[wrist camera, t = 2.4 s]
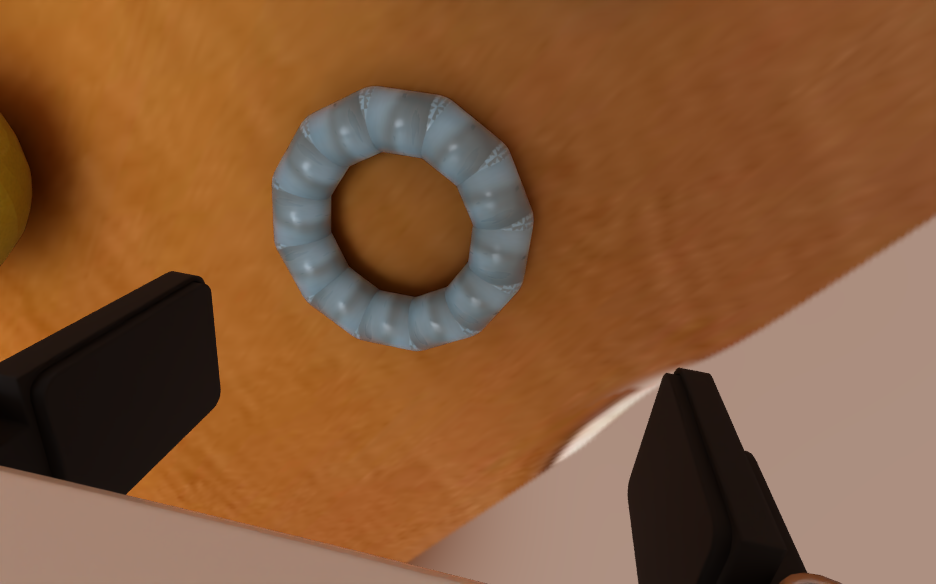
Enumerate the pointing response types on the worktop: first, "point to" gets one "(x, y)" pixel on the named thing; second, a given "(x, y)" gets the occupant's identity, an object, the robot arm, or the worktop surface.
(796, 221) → the worktop surface
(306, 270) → the ring
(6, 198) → the lemon
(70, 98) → the worktop surface
